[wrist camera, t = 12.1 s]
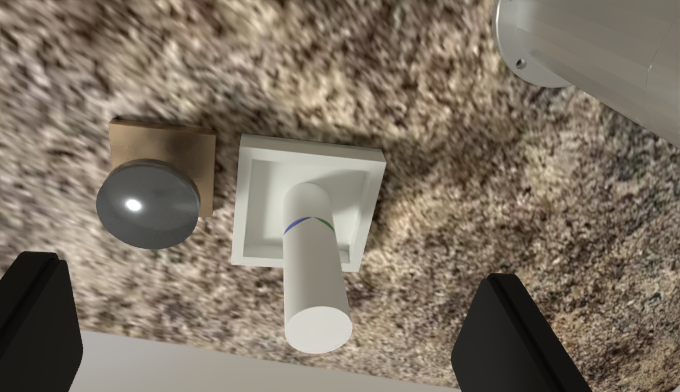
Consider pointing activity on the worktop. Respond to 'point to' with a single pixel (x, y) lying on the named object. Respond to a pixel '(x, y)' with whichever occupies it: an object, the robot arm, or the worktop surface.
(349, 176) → the tray
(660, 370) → the worktop surface
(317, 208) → the tube
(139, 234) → the knob on plate
